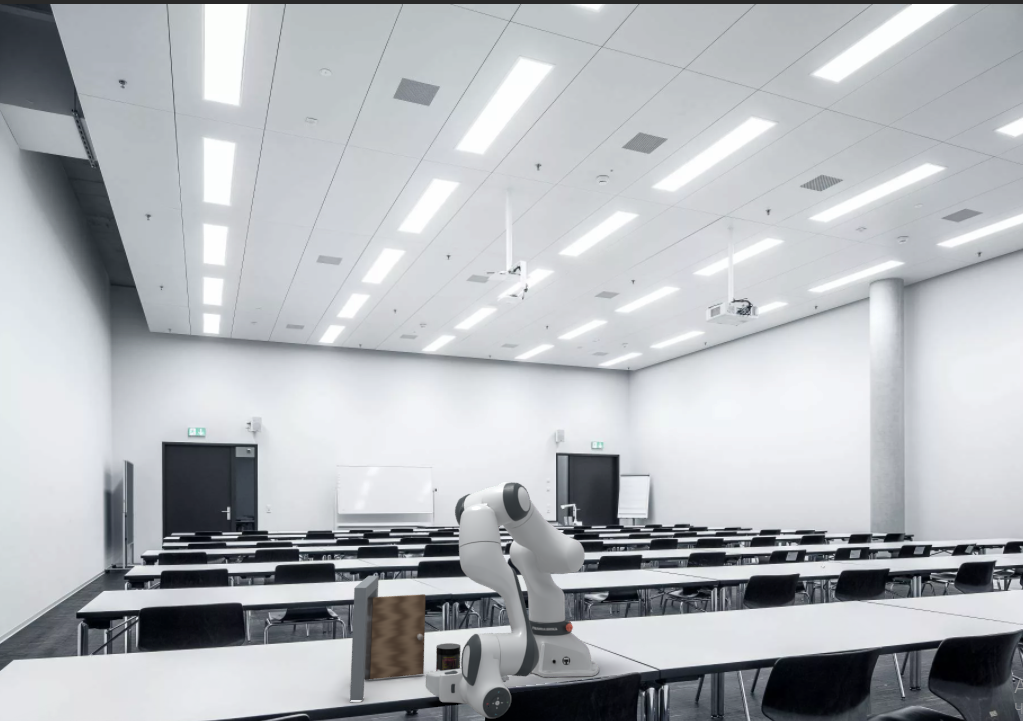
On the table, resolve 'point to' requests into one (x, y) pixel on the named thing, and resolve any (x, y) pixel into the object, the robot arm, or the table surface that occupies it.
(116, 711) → the table surface
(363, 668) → the door frame
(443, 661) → the supplement container
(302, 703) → the table surface
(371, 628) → the door
